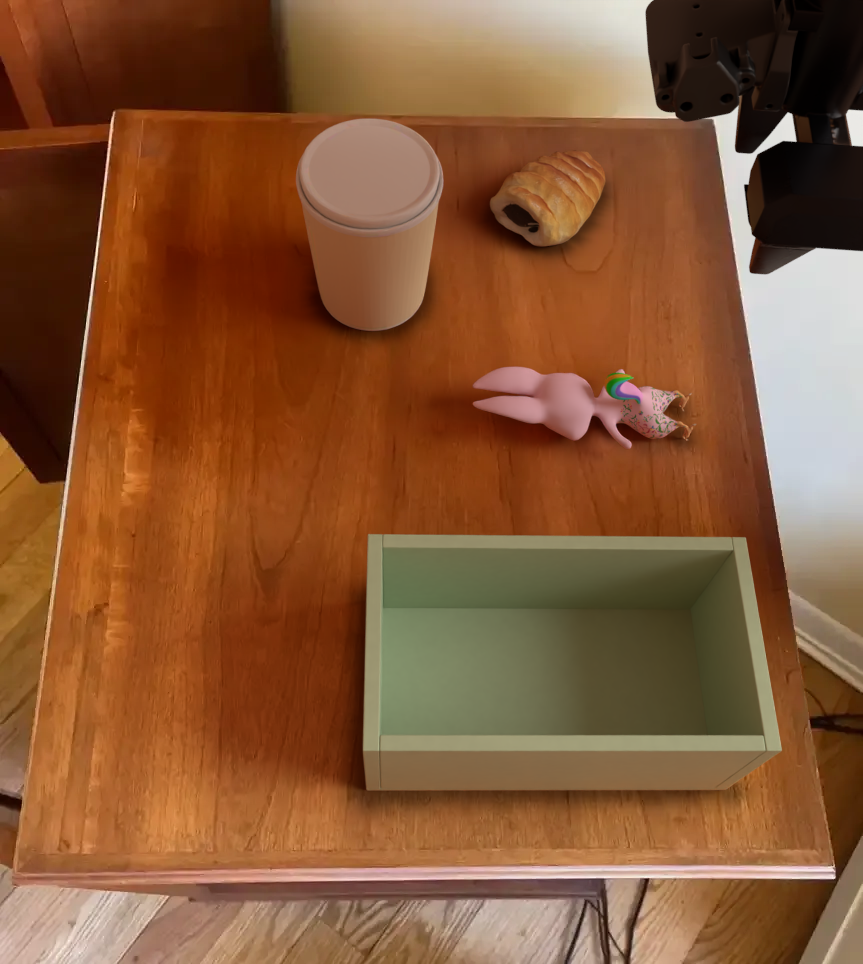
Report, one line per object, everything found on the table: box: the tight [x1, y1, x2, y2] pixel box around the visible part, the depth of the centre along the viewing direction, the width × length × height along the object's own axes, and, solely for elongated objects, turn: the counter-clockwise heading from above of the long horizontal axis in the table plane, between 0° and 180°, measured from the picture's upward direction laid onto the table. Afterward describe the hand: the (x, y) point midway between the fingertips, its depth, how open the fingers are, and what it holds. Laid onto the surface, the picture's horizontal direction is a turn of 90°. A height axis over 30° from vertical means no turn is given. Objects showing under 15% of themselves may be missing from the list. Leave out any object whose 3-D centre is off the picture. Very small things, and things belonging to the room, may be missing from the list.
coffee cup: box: [295, 118, 444, 332], centre depth 69 cm, size 9×9×12 cm
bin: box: [362, 533, 783, 791], centre depth 56 cm, size 21×12×10 cm, turn 90°
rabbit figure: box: [472, 366, 697, 450], centre depth 67 cm, size 6×6×15 cm
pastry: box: [489, 150, 606, 247], centre depth 77 cm, size 9×7×4 cm
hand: (750, 209), depth 58 cm, fingers open, 9 cm apart
